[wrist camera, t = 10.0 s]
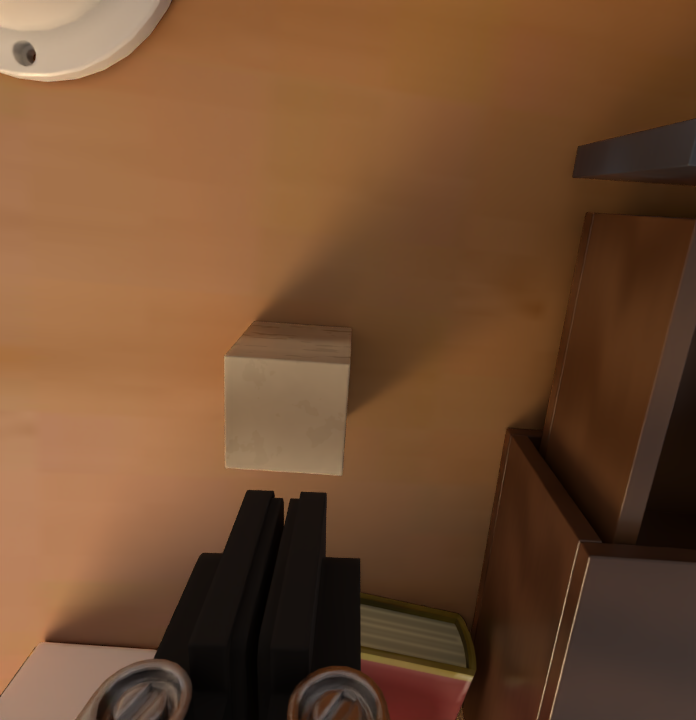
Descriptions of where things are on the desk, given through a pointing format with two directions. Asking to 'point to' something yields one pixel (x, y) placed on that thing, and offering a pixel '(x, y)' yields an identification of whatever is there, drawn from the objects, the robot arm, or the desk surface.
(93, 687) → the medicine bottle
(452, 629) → the hardcover book
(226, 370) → the block
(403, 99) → the desk surface
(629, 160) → the drawer
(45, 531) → the desk surface
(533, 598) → the cabinet
